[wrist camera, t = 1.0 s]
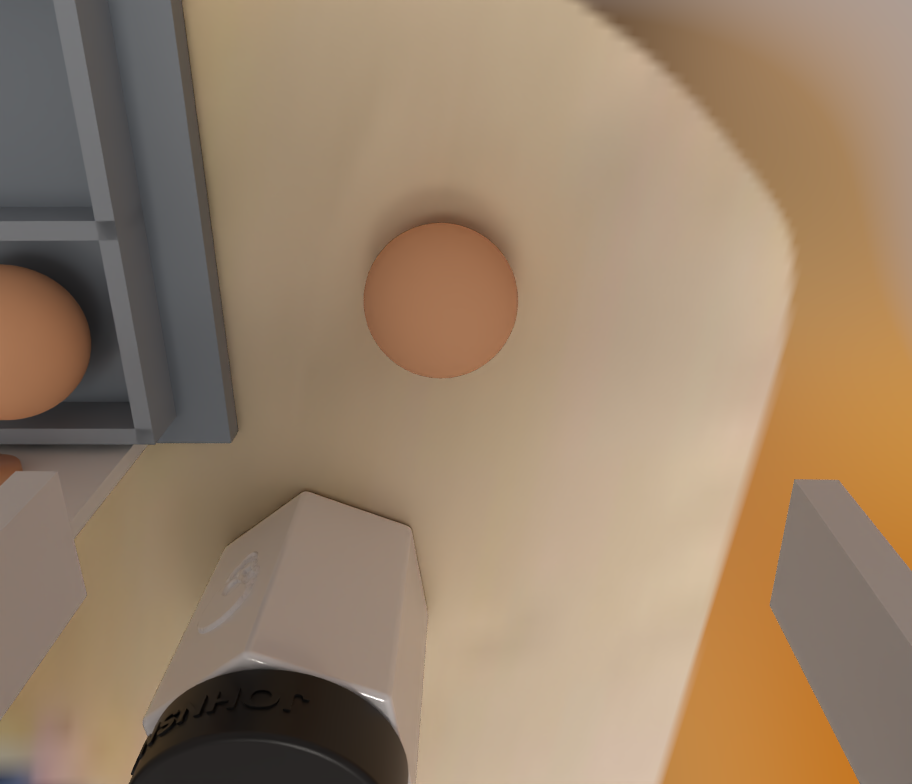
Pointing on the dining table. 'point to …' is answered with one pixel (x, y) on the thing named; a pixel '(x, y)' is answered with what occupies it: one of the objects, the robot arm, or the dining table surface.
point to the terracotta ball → (38, 343)
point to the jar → (298, 658)
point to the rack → (112, 234)
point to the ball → (440, 300)
